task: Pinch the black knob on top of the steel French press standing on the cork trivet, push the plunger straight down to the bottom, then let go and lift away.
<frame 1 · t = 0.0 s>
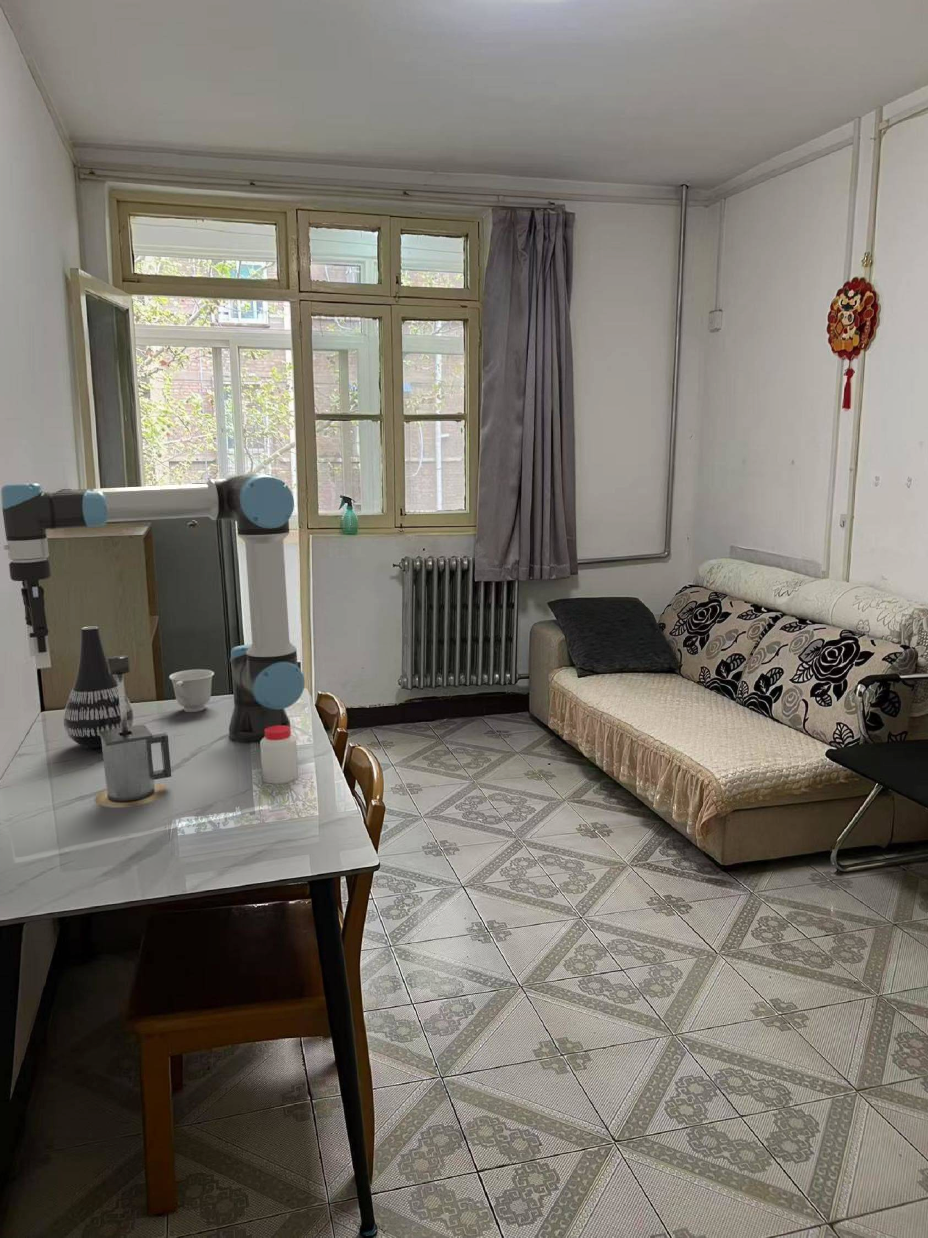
hand: (40, 661, 192), 28 cm above the table, fingers open, 13 cm apart
carafe: (131, 794, 191), resting on trivet
vase: (101, 746, 226), on the table
pill bottle: (280, 778, 201), on the table
plunger: (122, 704, 187), point 20 cm above the table, slide at 0.0 cm
trivet: (131, 798, 191), on the table
teacup: (192, 711, 255), on the table
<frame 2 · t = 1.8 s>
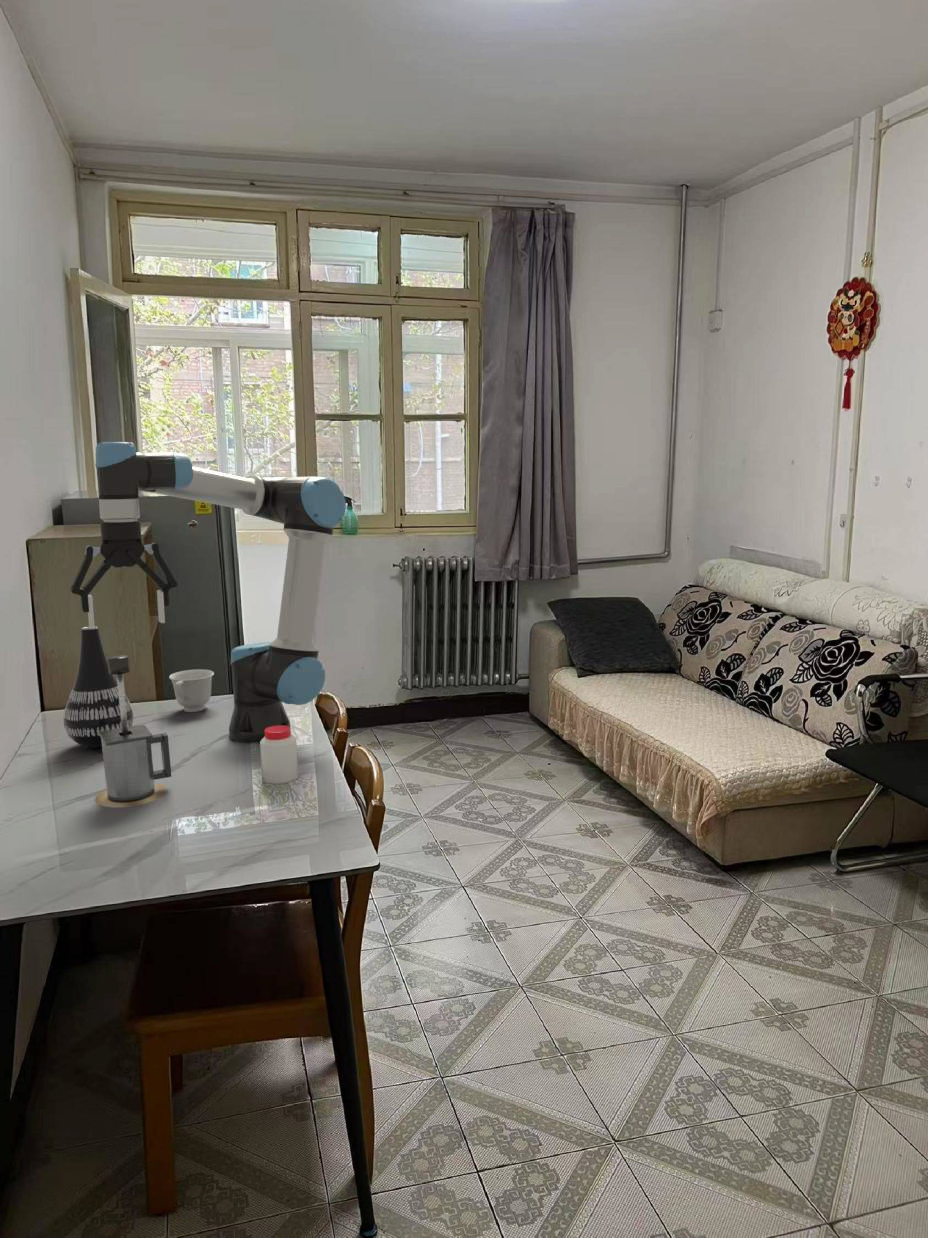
hand: (127, 625, 188), 36 cm above the table, fingers open, 13 cm apart
nothing on the table moved.
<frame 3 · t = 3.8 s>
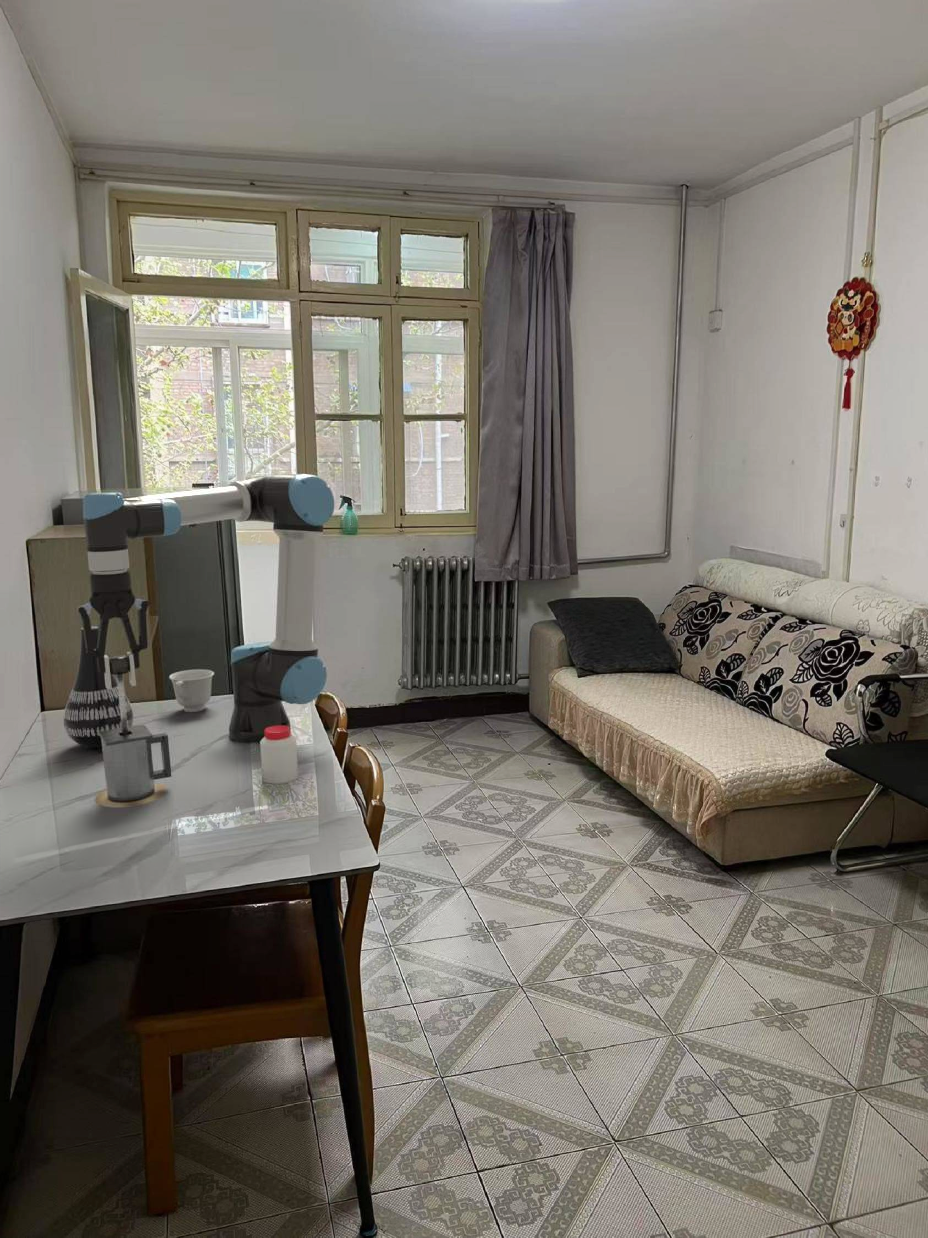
hand: (120, 685, 187), 24 cm above the table, fingers closed on plunger, 4 cm apart
plunger: (122, 704, 187), point 20 cm above the table, slide at 0.0 cm, touching gripper
everything else where it was.
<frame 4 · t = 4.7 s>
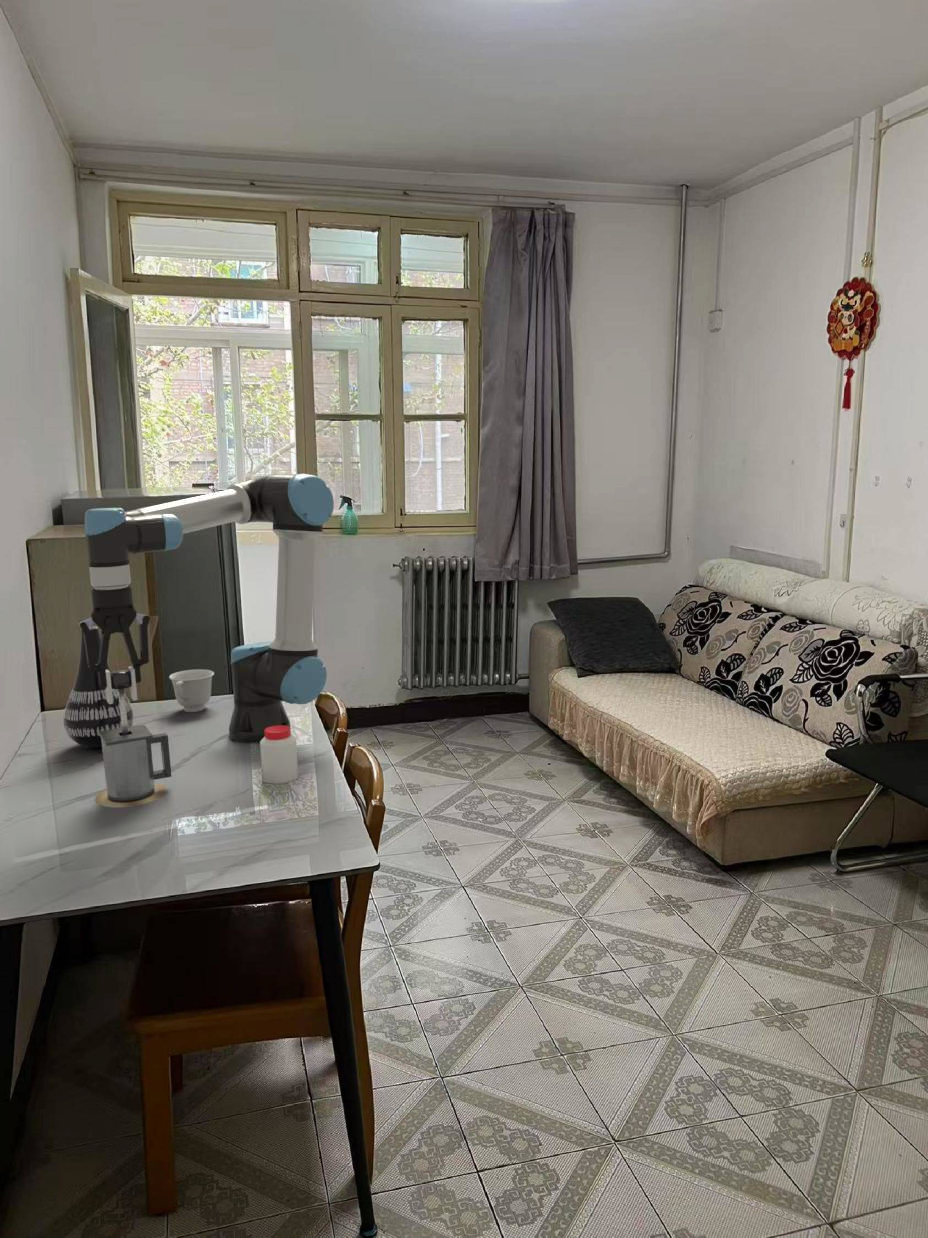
hand: (122, 700, 187), 21 cm above the table, fingers closed on plunger, 4 cm apart
plunger: (124, 718, 188), point 17 cm above the table, slide at 3.0 cm, touching gripper
everything else where it was.
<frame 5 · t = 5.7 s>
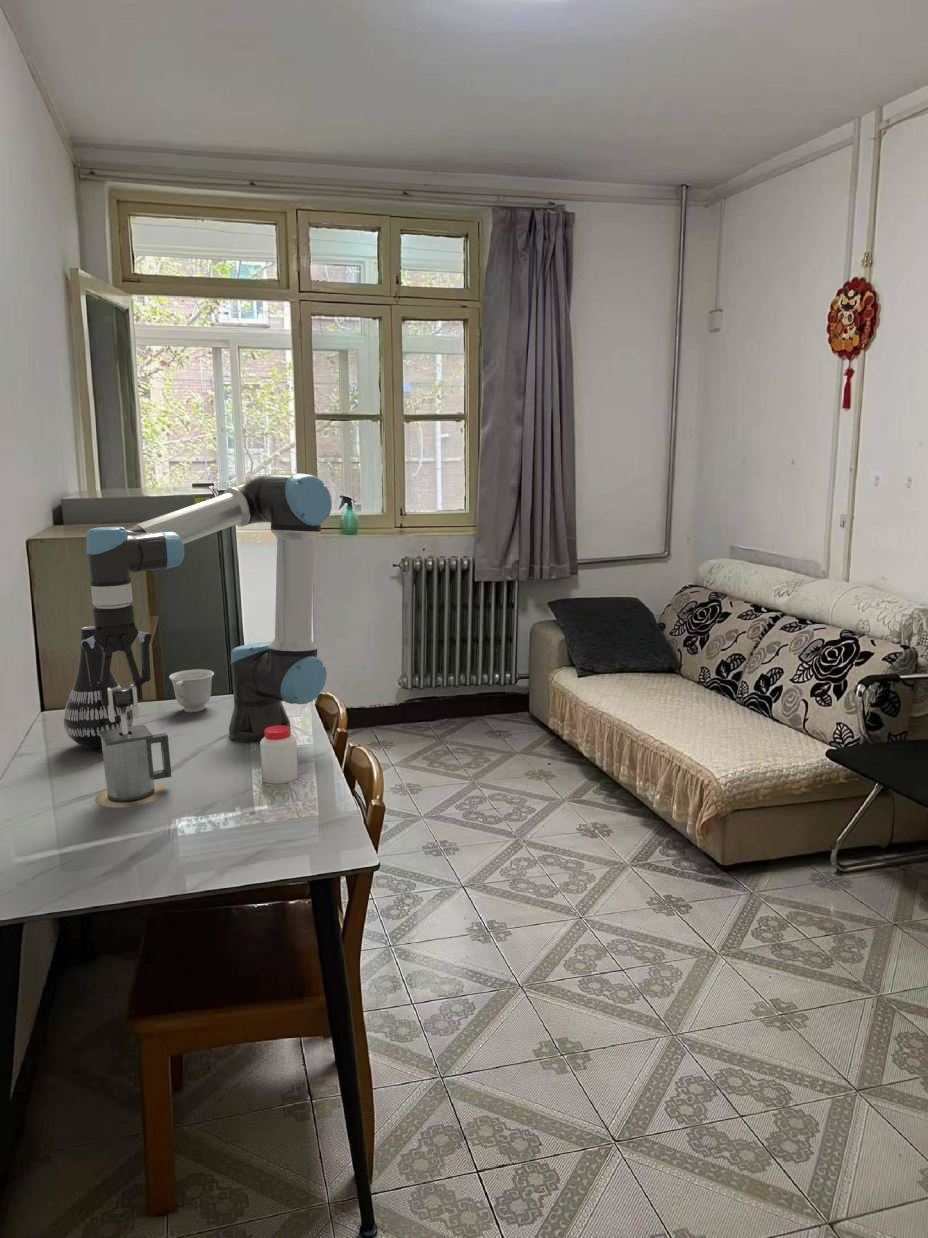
hand: (124, 718, 188), 17 cm above the table, fingers closed on plunger, 4 cm apart
plunger: (125, 736, 188), point 13 cm above the table, slide at 6.8 cm, touching gripper
everything else where it was.
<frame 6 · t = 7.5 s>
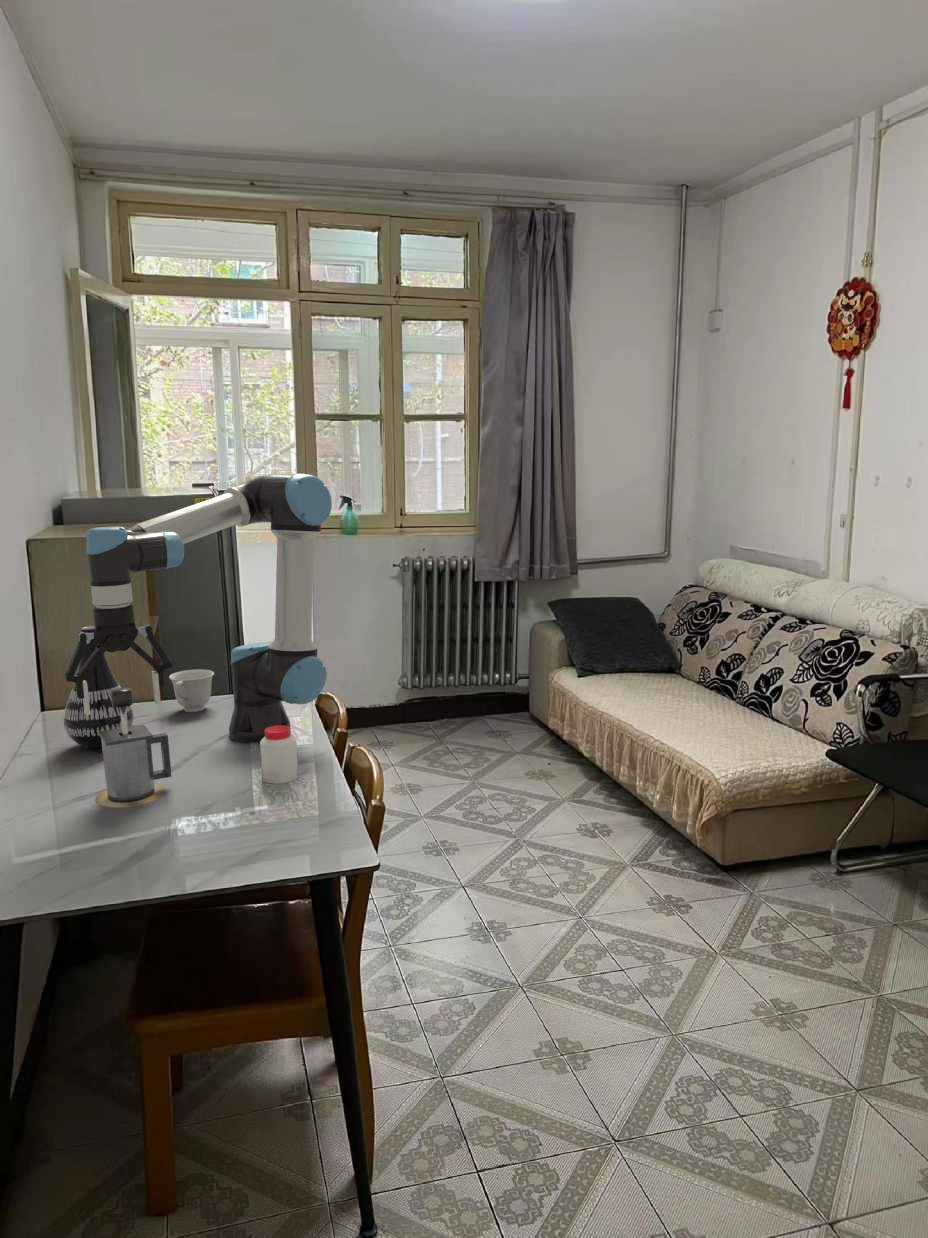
hand: (123, 708, 187), 19 cm above the table, fingers open, 13 cm apart
plunger: (125, 736, 188), point 13 cm above the table, slide at 6.8 cm
everything else where it was.
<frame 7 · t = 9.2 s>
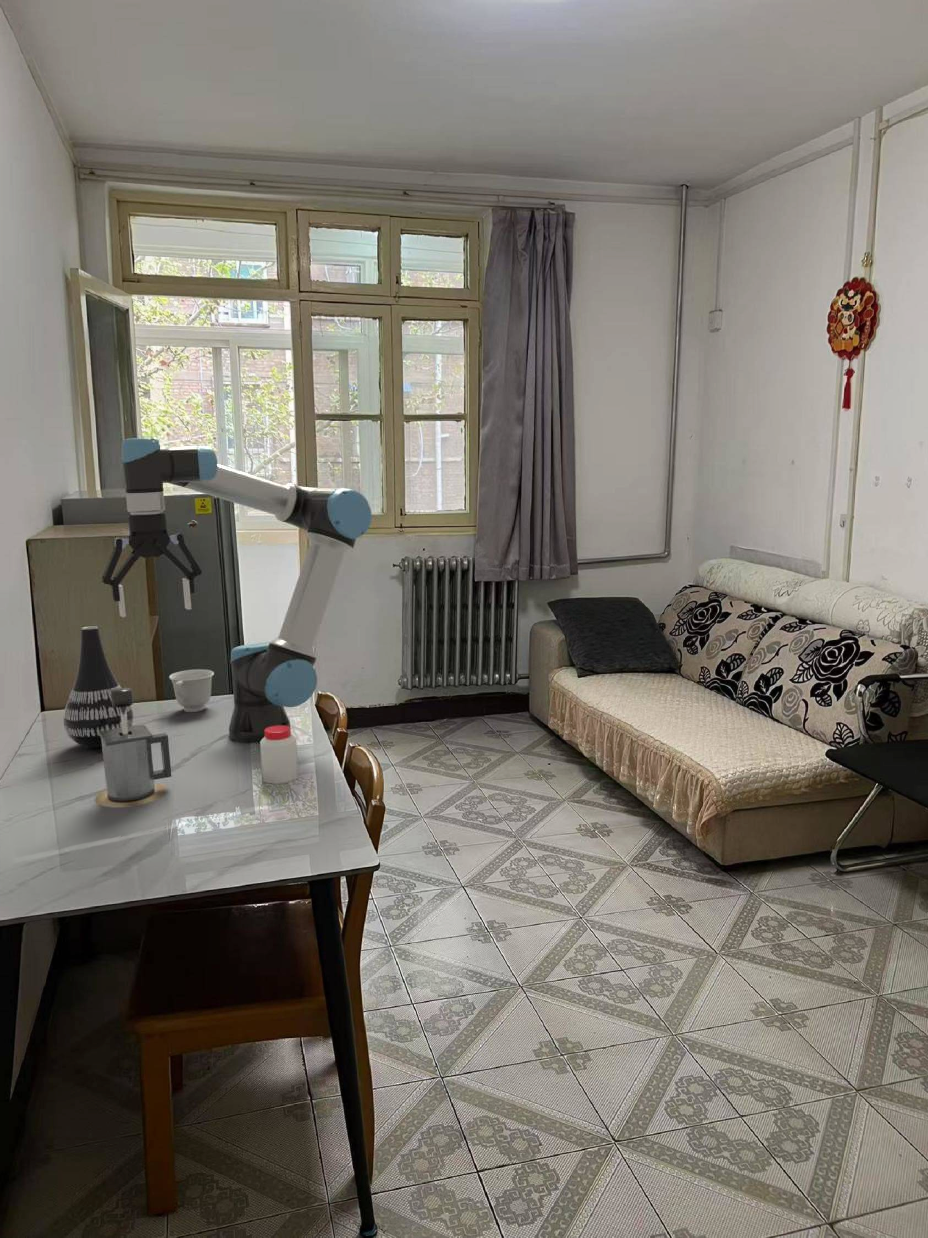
hand: (156, 612, 197), 37 cm above the table, fingers open, 13 cm apart
nothing on the table moved.
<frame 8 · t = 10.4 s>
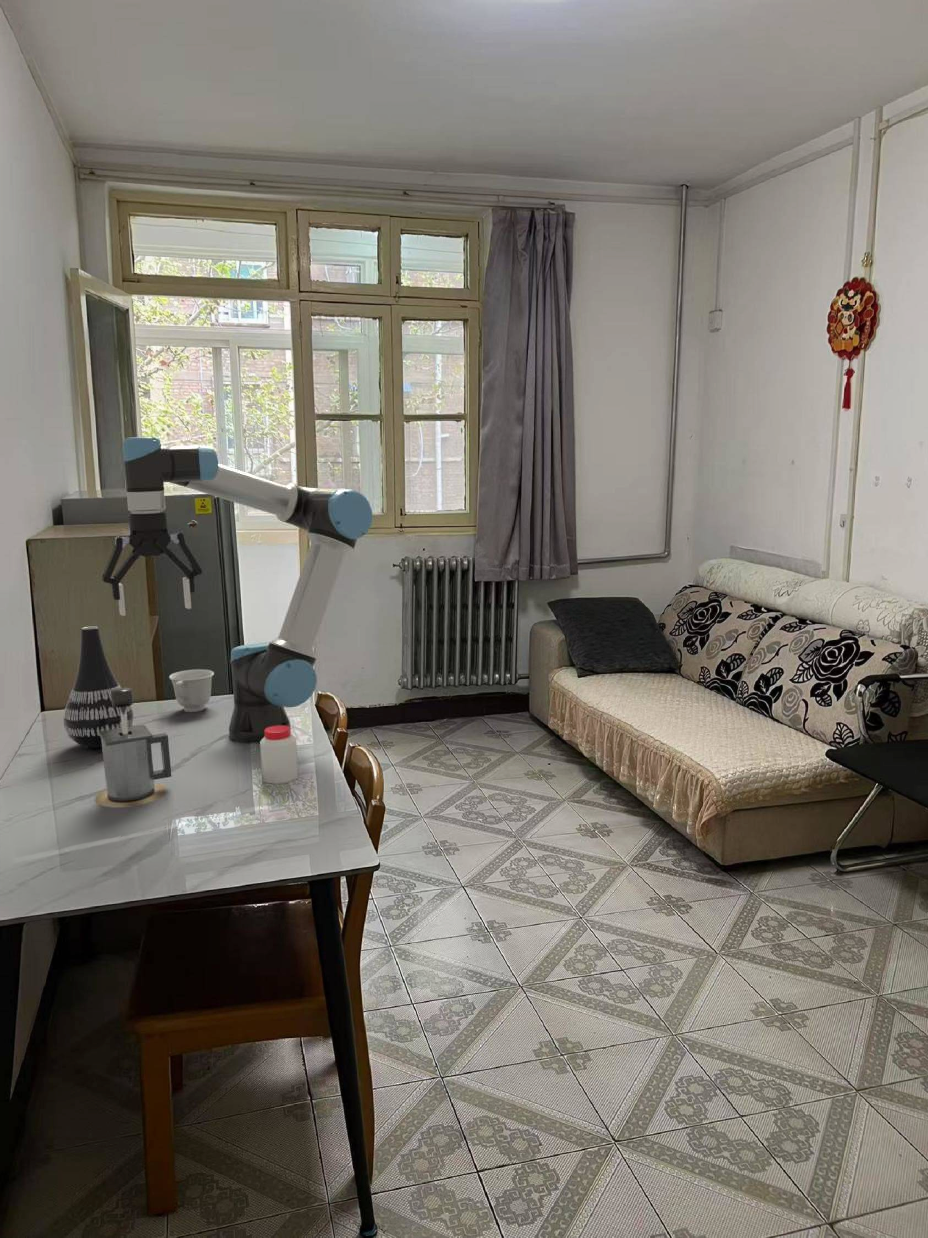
hand: (156, 611, 198), 37 cm above the table, fingers open, 13 cm apart
nothing on the table moved.
at the end: plunger slide at 6.8 cm; the gripper is holding nothing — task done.
